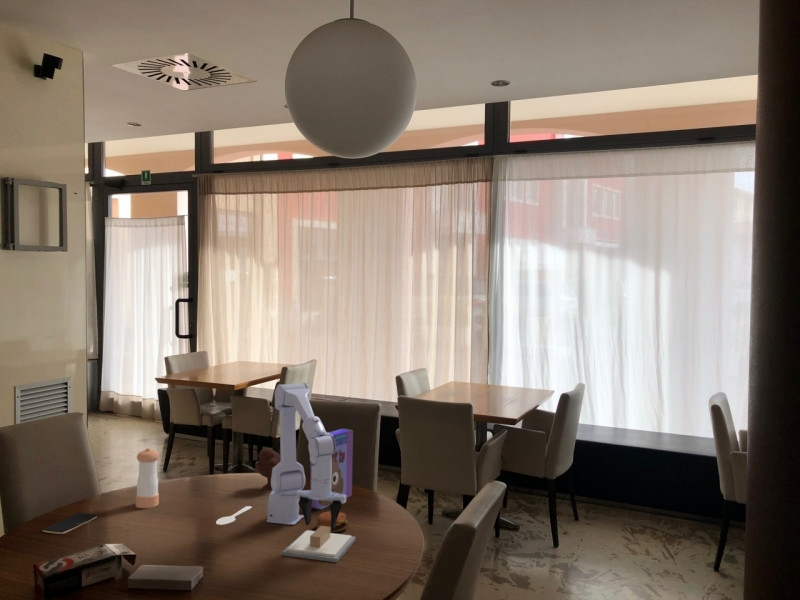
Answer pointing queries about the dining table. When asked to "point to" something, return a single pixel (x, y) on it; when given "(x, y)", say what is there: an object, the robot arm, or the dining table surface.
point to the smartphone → (69, 523)
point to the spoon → (231, 517)
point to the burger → (325, 520)
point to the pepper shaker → (147, 479)
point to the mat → (320, 557)
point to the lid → (320, 542)
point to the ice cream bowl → (267, 465)
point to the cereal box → (339, 467)
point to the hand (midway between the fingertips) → (320, 525)
